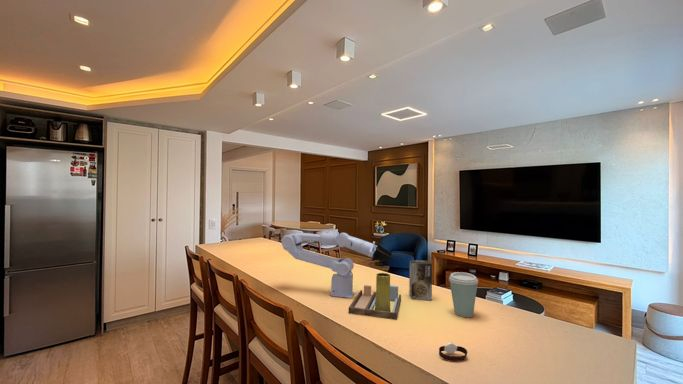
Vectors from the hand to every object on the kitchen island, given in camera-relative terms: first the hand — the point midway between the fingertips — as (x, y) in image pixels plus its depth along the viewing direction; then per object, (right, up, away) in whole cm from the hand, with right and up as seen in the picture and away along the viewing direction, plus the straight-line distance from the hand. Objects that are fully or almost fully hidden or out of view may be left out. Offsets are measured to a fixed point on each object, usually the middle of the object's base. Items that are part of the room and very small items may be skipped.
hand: (390, 257), depth 124 cm
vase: (-6, -18, -15) cm, 24 cm away
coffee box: (+14, -19, +3) cm, 24 cm away
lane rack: (-7, -18, -9) cm, 21 cm away
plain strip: (-13, -18, -8) cm, 23 cm away
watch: (+9, -18, -46) cm, 50 cm away
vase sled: (-4, -18, -10) cm, 21 cm away
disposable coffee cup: (+25, -19, -15) cm, 35 cm away
